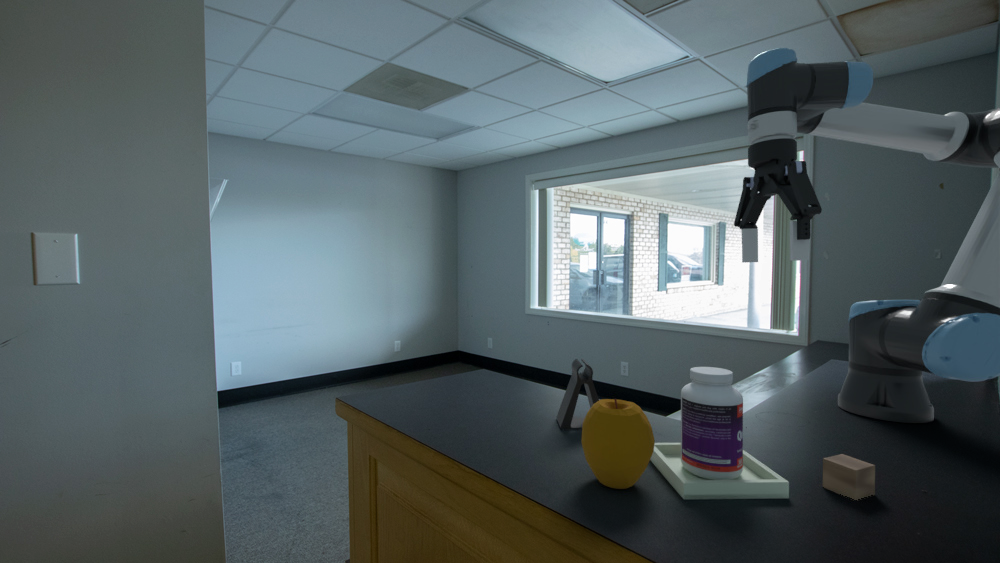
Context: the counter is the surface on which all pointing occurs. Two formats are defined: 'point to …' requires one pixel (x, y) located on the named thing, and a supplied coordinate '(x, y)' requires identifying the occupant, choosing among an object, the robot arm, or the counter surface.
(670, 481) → the tray
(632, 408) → the apple
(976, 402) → the counter surface
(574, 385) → the phone stand
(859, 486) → the walnut block
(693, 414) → the pill bottle
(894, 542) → the counter surface
